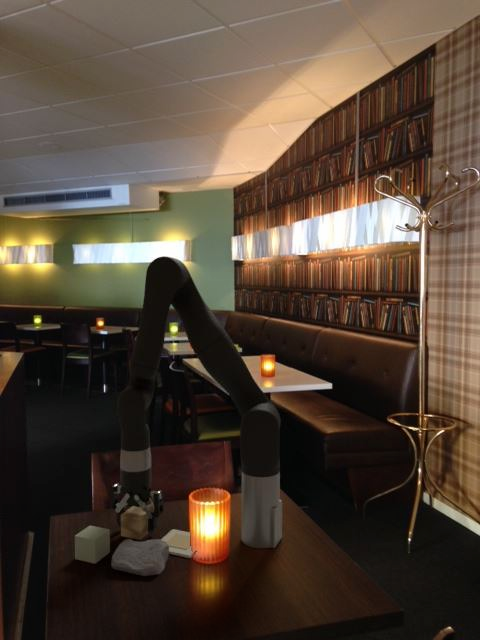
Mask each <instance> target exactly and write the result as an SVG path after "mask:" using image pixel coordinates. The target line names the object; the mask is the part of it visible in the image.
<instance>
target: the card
mask: <svg viewBox="0 0 480 640" xmlns="http://www.w3.org/2000/svg"><path fill="white" fill-rule="evenodd" d="M190 533H191V532H189V531H183V530H180V529H173V528H172V529H171V530H170V531H169V532H168V533H166V535H164V536H163V537H162V538H161V539H160V540H162V541H165V542H167V544H168V545H169V555H173V556H177V557H178V556H179V557H182V558H183V557H184V558H187V559H191V558H192V557H193V556H194V555H195V554H194V553H193V552H192V551H191V546H190Z"/></svg>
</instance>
